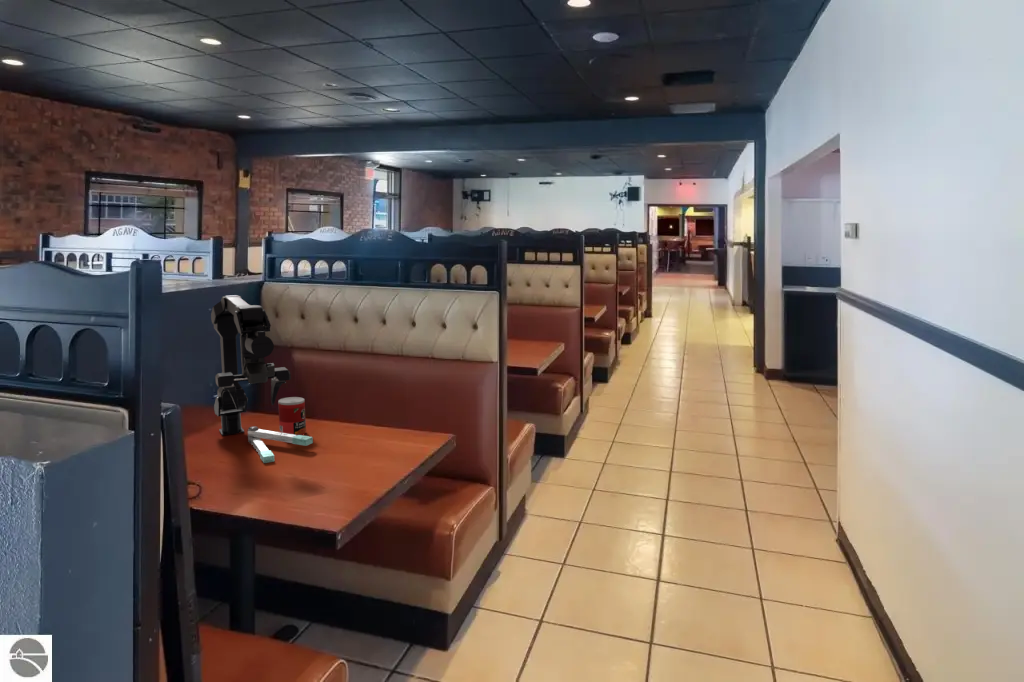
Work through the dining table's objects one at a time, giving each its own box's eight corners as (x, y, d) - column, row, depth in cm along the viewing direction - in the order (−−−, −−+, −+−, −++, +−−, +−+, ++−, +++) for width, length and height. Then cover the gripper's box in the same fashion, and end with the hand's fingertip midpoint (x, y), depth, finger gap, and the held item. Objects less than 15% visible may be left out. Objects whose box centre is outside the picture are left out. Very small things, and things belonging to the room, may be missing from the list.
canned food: (298, 438, 197) (296, 403, 195) (274, 436, 198) (272, 402, 197) (310, 431, 204) (309, 397, 202) (288, 429, 206) (286, 396, 204)
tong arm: (245, 436, 192) (245, 428, 192) (253, 433, 195) (253, 425, 195) (305, 446, 183) (305, 437, 183) (313, 442, 186) (312, 434, 186)
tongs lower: (247, 441, 194) (247, 435, 193) (258, 439, 195) (258, 433, 195) (263, 463, 175) (262, 457, 175) (275, 461, 177) (274, 455, 176)
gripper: (219, 359, 164) (223, 418, 167) (294, 353, 174) (296, 409, 176) (213, 353, 173) (217, 409, 176) (284, 347, 183) (287, 400, 186)
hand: (255, 407), depth 178 cm, fingers open, 9 cm apart
